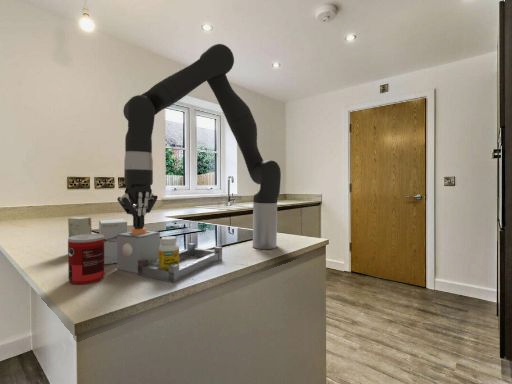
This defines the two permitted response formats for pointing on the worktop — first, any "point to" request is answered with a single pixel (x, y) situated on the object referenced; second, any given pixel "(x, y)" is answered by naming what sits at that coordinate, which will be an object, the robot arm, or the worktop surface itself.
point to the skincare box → (79, 226)
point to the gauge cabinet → (136, 249)
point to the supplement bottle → (168, 252)
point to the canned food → (86, 258)
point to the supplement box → (111, 237)
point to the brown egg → (138, 231)
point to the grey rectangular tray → (174, 270)
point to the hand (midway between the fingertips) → (138, 228)
